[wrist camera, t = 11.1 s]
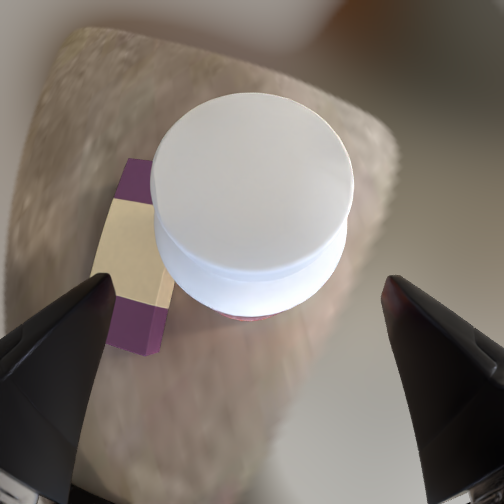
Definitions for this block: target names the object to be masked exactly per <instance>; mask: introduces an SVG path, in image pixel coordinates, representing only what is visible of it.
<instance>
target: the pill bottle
mask: <svg viewBox="0 0 504 504" xmlns="http://www.w3.org/2000/svg"><path fill="white" fill-rule="evenodd" d="M150 191H151V197H152V202H153V206H154V210H155V212H154V231H155V239H156V244H157V248H158V251H159V254H160V256H161V259H162V261H163V263H164V265H165V267H166V269H167V271H168V272H169V274H170V275H171V276H172V278H173V279H174V280H175V282H176V283H177V284H178V285H179V286H180V287H181V288H182V289H183V290H184V291H185V292H186V293H187V294H189V295H190V296H191V297H193V298H194V299H195V300H197V301H198V302H200V303H202V304H203V305H205V306H207V307H209V308H211V309H213V310H214V311H216V312H218V313H220V314H222V315H224V316H226V317H229V318H232V319H235V320H241V321H256V320H262V319H266V318H269V317H271V316H274V315H276V314H278V313H281V312H283V311H286V310H288V309H290V308H292V307H294V306H296V305H298V304H300V303H302V302H304V301H305V300H307V299H308V298H309V297H311V296H312V295H313V294H314V293H316V292H317V291H318V290H319V289H320V288H321V287H322V286H323V285H324V283H325V282H326V281H327V280H328V279H329V277H330V276H331V274H332V273H333V271H334V270H335V268H336V266H337V264H338V262H339V260H340V258H341V255H342V252H343V249H344V246H345V241H346V235H347V216H348V214H349V211H350V208H351V204H352V200H353V191H354V177H353V170H352V165H351V161H350V158H349V155H348V153H347V151H346V148H345V147H344V145H343V143H342V141H341V139H340V138H339V136H338V135H337V134H336V132H335V131H334V130H333V129H332V128H331V127H330V125H329V124H328V123H327V122H326V121H325V120H324V119H322V118H321V117H320V116H319V115H318V114H316V113H315V112H313V111H312V110H310V109H309V108H307V107H305V106H303V105H301V104H299V103H297V102H295V101H293V100H290V99H287V98H284V97H281V96H277V95H272V94H266V93H255V92H252V93H235V94H230V95H226V96H221V97H218V98H215V99H212V100H209V101H207V102H205V103H202V104H200V105H198V106H197V107H195V108H193V109H192V110H190V111H189V112H188V113H186V114H185V115H184V116H182V117H181V118H180V119H179V120H178V121H177V122H176V123H175V124H174V125H173V126H172V127H171V128H170V129H169V130H168V132H167V133H166V135H165V136H164V137H163V139H162V141H161V142H160V144H159V146H158V149H157V151H156V153H155V156H154V159H153V163H152V168H151V176H150Z"/></svg>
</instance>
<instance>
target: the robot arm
mask: <svg viewBox="0 0 504 504" xmlns="http://www.w3.org/2000/svg"><path fill="white" fill-rule="evenodd" d="M115 302H116V291H115V288H114V285H113V281H112V278H111V275H110V274H109V273H96V274H95V275H93V276H92V277H90V278H89V279H87V280H86V281H84V282H83V283H81V284H79V285H78V286H76V287H75V288H73V289H72V290H70V291H69V292H67V293H66V294H64V295H63V296H61V297H60V298H58V299H57V300H56V301H54V302H53V303H51V304H50V305H48V306H47V307H45V308H44V309H42V310H41V311H40V312H38V313H37V314H35V315H34V316H32V317H31V318H30V319H28V320H27V321H25V322H24V323H23V324H21V325H20V326H18V327H17V328H16V329H14V330H13V331H11V332H10V333H9V334H7V335H6V336H4V337H3V338H1V339H0V504H37V503H38V499H39V495H40V496H42V497H44V498H47V499H49V500H52V501H54V504H115V503H112V502H110V501H107V500H105V499H103V498H100V497H98V496H96V495H93V494H91V493H89V492H87V491H85V490H83V489H81V488H79V487H76V486H74V485H72V484H71V479H72V473H73V468H74V463H75V458H76V453H77V450H76V449H77V447H78V442H79V438H80V433H81V429H82V425H83V421H84V417H85V413H86V409H87V405H88V401H89V397H90V394H91V390H92V386H93V383H94V379H95V376H96V373H97V369H98V366H99V363H100V359H101V356H102V353H103V350H104V347H105V344H106V340H107V337H108V333H109V328H110V323H111V319H112V314H113V310H114V306H115ZM381 304H382V308H383V313H384V317H385V322H386V327H387V332H388V336H389V340H390V344H391V347H392V351H393V353H394V357H395V360H396V364H397V367H398V371H399V374H400V377H401V381H402V384H403V388H404V392H405V396H406V400H407V404H408V407H409V411H410V415H411V419H412V423H413V428H414V432H415V437H416V441H417V446H418V451H419V457H420V462H421V467H422V472H423V478H424V483H425V490H426V496H427V503H428V504H442V503H444V502H447V501H449V500H452V499H454V498H456V497H458V496H461V495H463V494H465V493H467V492H468V493H469V497H470V501H471V502H469V503H467V504H504V348H503V347H502V346H500V345H499V344H497V343H496V342H494V341H493V340H491V339H490V338H489V337H487V336H486V335H484V334H483V333H482V332H480V331H479V330H478V329H476V328H474V327H473V326H472V325H471V324H469V323H468V322H467V321H465V320H464V319H462V318H461V317H460V316H458V315H457V314H456V313H454V312H453V311H451V310H450V309H448V308H447V307H445V306H444V305H443V304H441V303H440V302H438V301H437V300H435V299H434V298H433V297H431V296H430V295H428V294H427V293H425V292H424V291H422V290H421V289H419V288H418V287H417V286H415V285H413V284H412V283H411V282H409V281H408V280H406V279H404V278H403V277H402V276H400V275H390V276H388V277H387V279H386V282H385V285H384V288H383V291H382V295H381Z"/></svg>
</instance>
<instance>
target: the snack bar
mask: <svg viewBox="0 0 504 504" xmlns="http://www.w3.org/2000/svg"><path fill="white" fill-rule="evenodd" d="M152 163H153V161H148V160H140V159H131V158H129V159H128V161H127V163H126V166H125V168H124V171H123V174H122V176H121V179H120V182H119V184H118V187H117V190H116V193H115V196H114V198H113V200H112V203H111V206H110V209H109V212H108V215H107V218H106V222H105V225H104V228H103V231H102V234H101V238H100V241H99V245H98V248H97V252H96V255H95V259H94V263H93V266H92V270H91V274H90V277H92V276H93V275H95V274H96V273H109V274H110V275H111V278H112V281H113V285H114V288H115V291H116V302H115V306H114V310H113V314H112V319H111V323H110V328H109V333H108V337H107V340H106V344H109V345H112V346H115V347H118V348H121V349H124V350H127V351H130V352H133V353H136V354H139V355H143V356H148V355H151V354H154V353H157V352H159V351H160V346H161V341H162V336H163V331H164V326H165V322H166V317H167V313H168V308H169V305H170V301H171V296H172V292H173V288H174V283H175V280H174V279H173V278H172V276H171V275H170V274H169V272H168V271H167V269H166V267H165V265H164V263H163V261H162V259H161V256H160V254H159V251H158V248H157V244H156V239H155V231H154V212H155V210H154V206H153V202H152V197H151V191H150V176H151V168H152Z"/></svg>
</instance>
